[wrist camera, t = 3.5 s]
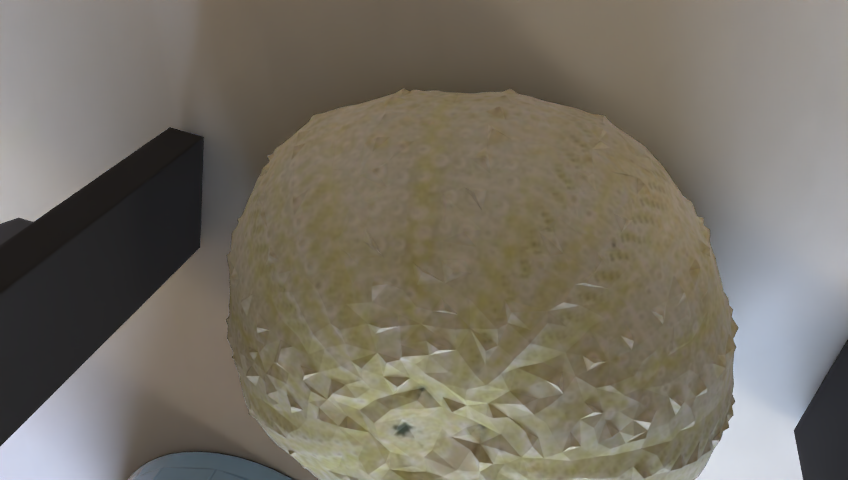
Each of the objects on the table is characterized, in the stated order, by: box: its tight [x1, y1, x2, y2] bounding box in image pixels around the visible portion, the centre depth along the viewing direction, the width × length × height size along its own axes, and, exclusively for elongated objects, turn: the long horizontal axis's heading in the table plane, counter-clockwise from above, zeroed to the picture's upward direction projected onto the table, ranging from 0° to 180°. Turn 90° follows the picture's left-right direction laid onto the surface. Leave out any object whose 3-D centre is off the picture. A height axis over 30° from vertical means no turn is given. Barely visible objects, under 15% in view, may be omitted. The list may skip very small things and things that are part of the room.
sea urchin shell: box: [226, 88, 738, 480], centre depth 15 cm, size 9×8×8 cm
